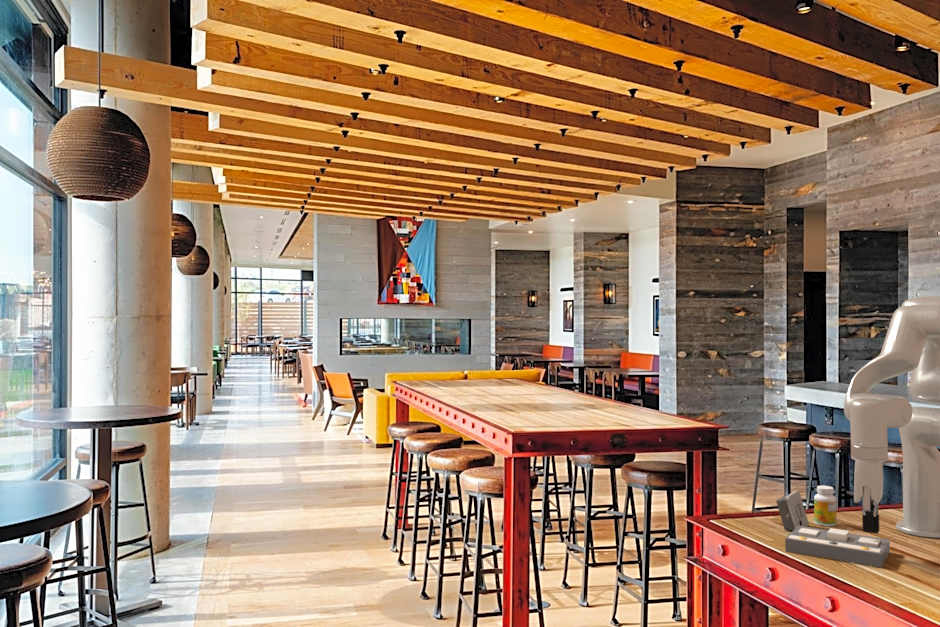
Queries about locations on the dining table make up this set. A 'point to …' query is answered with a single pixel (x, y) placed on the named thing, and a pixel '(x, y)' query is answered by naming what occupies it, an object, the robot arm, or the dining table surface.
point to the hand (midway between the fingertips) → (871, 531)
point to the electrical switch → (792, 511)
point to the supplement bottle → (825, 506)
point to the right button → (869, 542)
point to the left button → (808, 532)
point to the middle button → (838, 535)
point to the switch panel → (838, 547)
